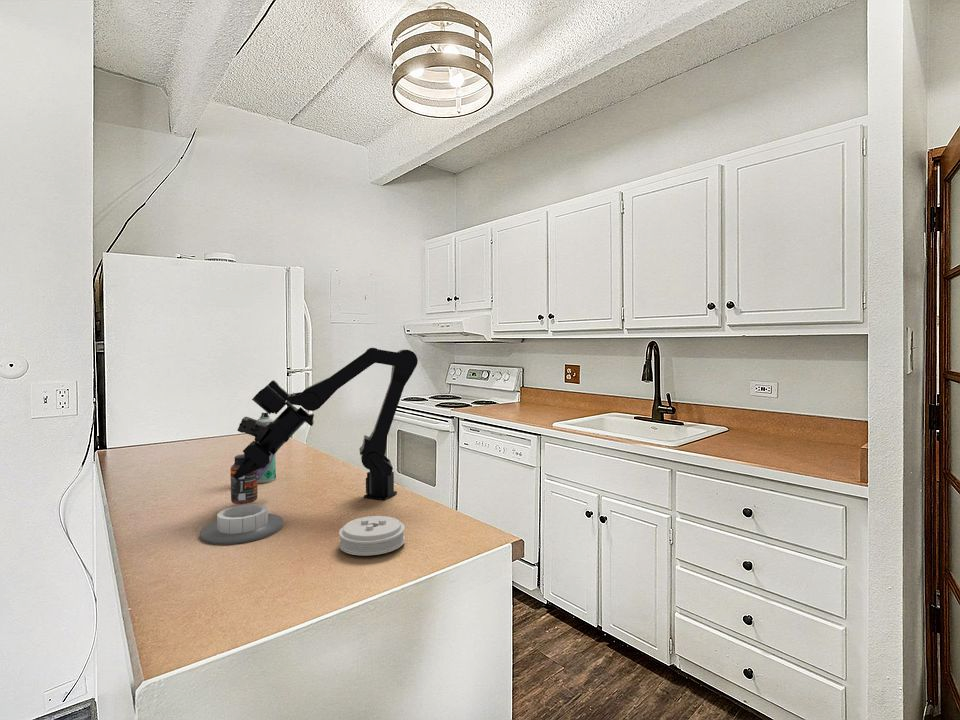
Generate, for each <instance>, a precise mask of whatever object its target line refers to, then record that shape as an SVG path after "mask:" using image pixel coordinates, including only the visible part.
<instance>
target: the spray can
mask: <svg viewBox="0 0 960 720" xmlns="http://www.w3.org/2000/svg"><path fill="white" fill-rule="evenodd" d="M257 420H258V421H260V422H263V423H265V424H267V425H268V424H269V423H270V422H271V421H272V422H273V421H274V420H275V419H273V418H271V417H270V415H269V414H268V413H267V412H261V415H260V416H259V418H258V419H257ZM255 438H256V437H255V436H254V439H255ZM254 441H255V442H257V441H256V440H254ZM270 453H271V452H270ZM276 453H277V452H276ZM276 453H275V454H274V455H273V454H272V453H271V454H272V460H271V461H270V463H269V464H268V465H267V466H266V467H265V468H260V469H258V470H257V484H267V483H266V482H268V483H271V482H272V481H273V482H275V481H276V480H277V466H276V465H277V463H276V462H277V461H276Z"/></svg>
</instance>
